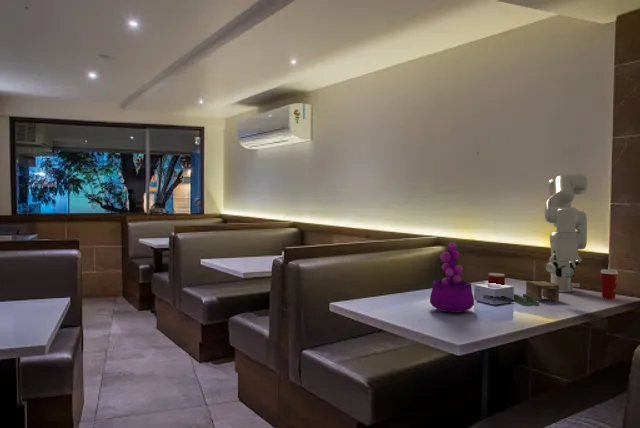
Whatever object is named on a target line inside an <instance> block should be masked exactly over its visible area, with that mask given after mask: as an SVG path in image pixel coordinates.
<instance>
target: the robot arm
mask: <svg viewBox="0 0 640 428" xmlns="http://www.w3.org/2000/svg"><path fill="white" fill-rule="evenodd" d="M588 182H589V181H588V179H587V176H585V175H584V174H580V173H579V174H578V173H577V174H573V173H572V174H571V173H570V174H566V173H565V174H559V175H557V176H556V178H551V179H550V180H549V181H548V183H547V186H548V187H547V188H548V193H549V194H550V197H549V198H548V199H547V200H546V202H545V204H544V219H545V221H546V222H547V223H549V224H553V226H554V227H555V228H556V230H555V231H552V232H551V233H550V235H549V245H550V257H549V259H548V262H551V263H552V264H553V265H554V266H555V267H556V274H553V273H550V283H553V284H556V285H559V293H572V292H571V291H573V292H574V291H575V289H574V288H580V285H581V284H580V283H579V282H576V283H574V282H572V281H571V280H572V279H571V278H574V277H575V274H574V275H573V276H572V277H571V278H566V277H562V273H561V272H562V269H561V268H560V267H561V265H564V266H568V267H571V268H572V269H573V270H574V271H576V270H575V268H576V267H577V266H579V264H580V263H581V262H582V261H583V259H582V258H581V256H580V255H579V250H584V249H586V248H587V242H588V218H587V214H586V212H585V211H584V210H578V209H577V208H576V207H575V206H572V202H573V201H574V200H575V195H584V194H585V192H587V190H588V185H589V183H588ZM576 230H577V231H576Z"/></svg>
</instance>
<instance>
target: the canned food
mask: <svg viewBox="0 0 640 428" xmlns="http://www.w3.org/2000/svg"><path fill="white" fill-rule="evenodd" d="M488 283H496V284H501V285H505V286H506V284H505V283H506V275H505V274H504V273H499V272H489V273H488V275H487V284H488Z"/></svg>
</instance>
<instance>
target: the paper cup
mask: <svg viewBox="0 0 640 428" xmlns="http://www.w3.org/2000/svg"><path fill="white" fill-rule="evenodd" d="M599 274H600V281H601V283H600V284H601V285H600V286H601V299H603V298H606V299H605V300H607V299H615V300H616V297H617V296H616V295H617V284H618V275H619V272H618V270H616V269H607V268H606V269H605V268H603V269H601V270H600V271H599Z"/></svg>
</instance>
